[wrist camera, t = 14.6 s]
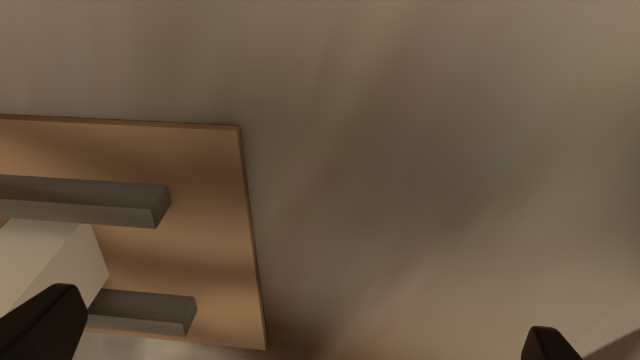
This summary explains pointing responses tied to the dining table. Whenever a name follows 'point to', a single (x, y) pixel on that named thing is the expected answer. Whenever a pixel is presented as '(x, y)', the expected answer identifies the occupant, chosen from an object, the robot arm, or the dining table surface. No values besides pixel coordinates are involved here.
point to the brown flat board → (146, 220)
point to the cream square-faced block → (48, 260)
